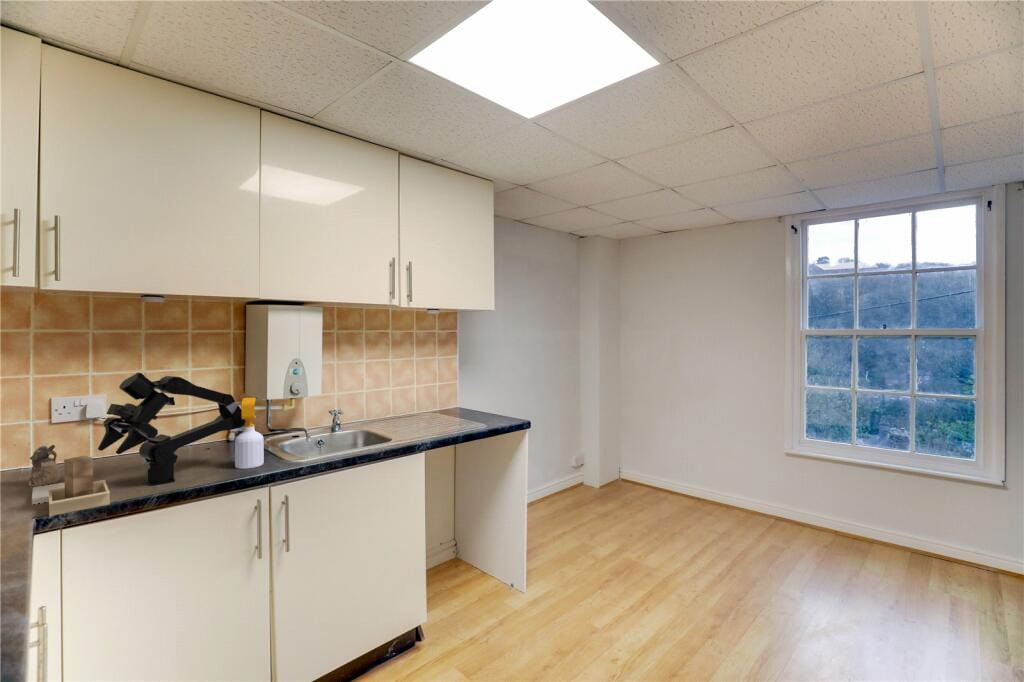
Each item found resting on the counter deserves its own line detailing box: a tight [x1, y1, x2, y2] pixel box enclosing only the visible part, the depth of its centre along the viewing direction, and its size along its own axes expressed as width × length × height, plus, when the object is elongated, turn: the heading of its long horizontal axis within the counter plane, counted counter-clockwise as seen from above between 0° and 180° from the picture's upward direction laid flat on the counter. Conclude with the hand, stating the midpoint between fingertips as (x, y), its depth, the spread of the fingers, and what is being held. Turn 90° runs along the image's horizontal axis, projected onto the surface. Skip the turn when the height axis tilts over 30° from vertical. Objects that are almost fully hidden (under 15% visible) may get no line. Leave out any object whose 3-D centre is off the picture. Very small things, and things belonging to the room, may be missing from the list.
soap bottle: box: [234, 397, 265, 470], centre depth 171 cm, size 9×9×25 cm
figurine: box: [28, 444, 61, 487], centre depth 151 cm, size 7×7×12 cm
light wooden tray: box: [48, 479, 111, 517], centre depth 133 cm, size 12×15×4 cm
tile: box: [31, 481, 65, 506], centre depth 141 cm, size 10×14×2 cm
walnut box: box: [63, 455, 94, 499], centre depth 133 cm, size 4×4×13 cm
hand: (108, 451), depth 140 cm, fingers open, 9 cm apart
